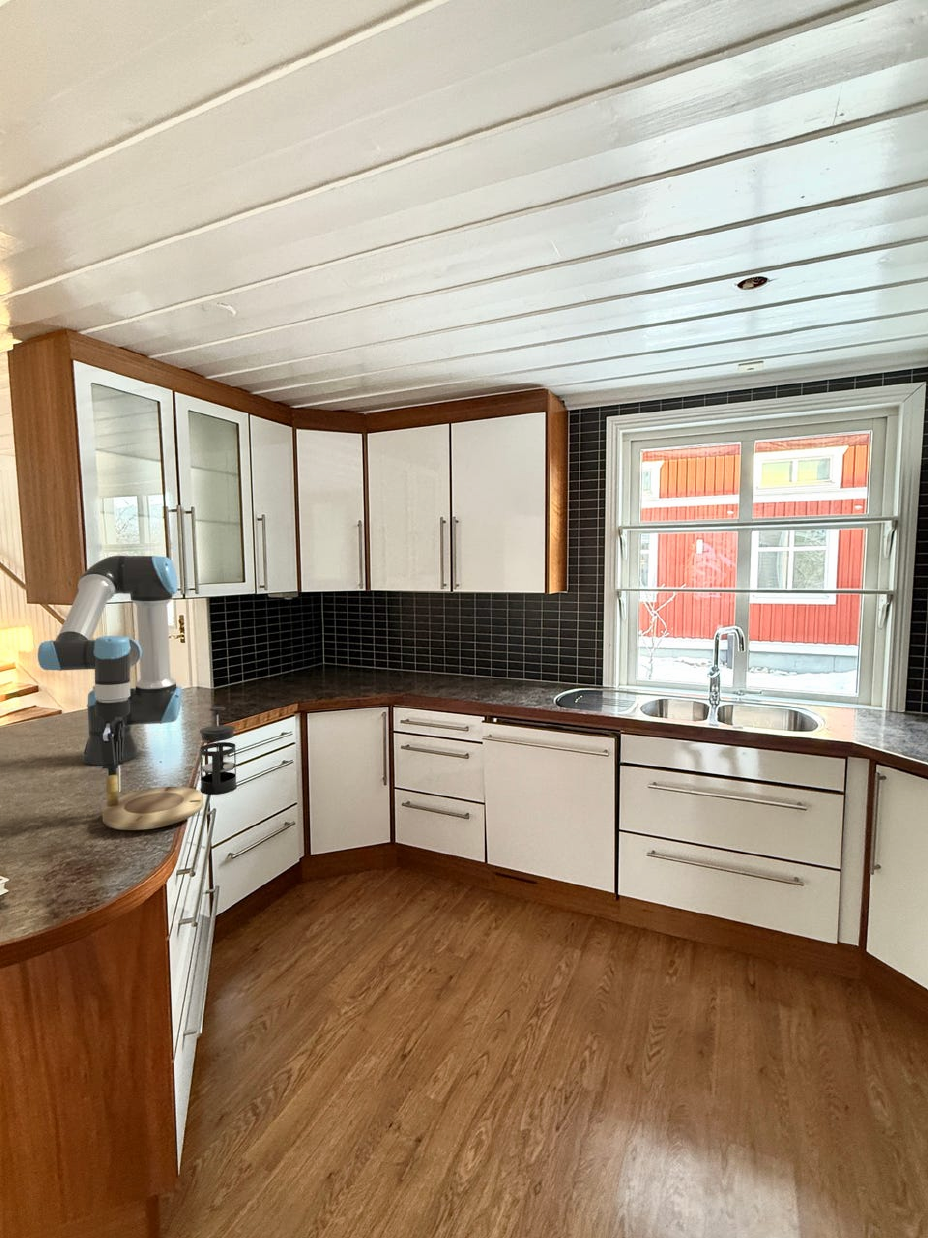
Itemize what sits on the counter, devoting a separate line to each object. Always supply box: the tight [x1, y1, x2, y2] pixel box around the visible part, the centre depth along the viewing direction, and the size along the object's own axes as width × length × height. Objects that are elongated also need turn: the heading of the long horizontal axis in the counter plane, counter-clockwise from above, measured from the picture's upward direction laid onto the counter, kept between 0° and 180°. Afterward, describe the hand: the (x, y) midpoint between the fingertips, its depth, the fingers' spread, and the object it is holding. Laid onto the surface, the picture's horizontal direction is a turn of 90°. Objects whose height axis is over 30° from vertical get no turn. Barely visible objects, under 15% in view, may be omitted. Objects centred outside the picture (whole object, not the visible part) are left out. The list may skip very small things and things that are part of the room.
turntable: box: [101, 775, 204, 831], centre depth 147 cm, size 22×22×9 cm
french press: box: [199, 706, 238, 796], centre depth 165 cm, size 12×9×23 cm
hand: (113, 792), depth 149 cm, fingers closed
